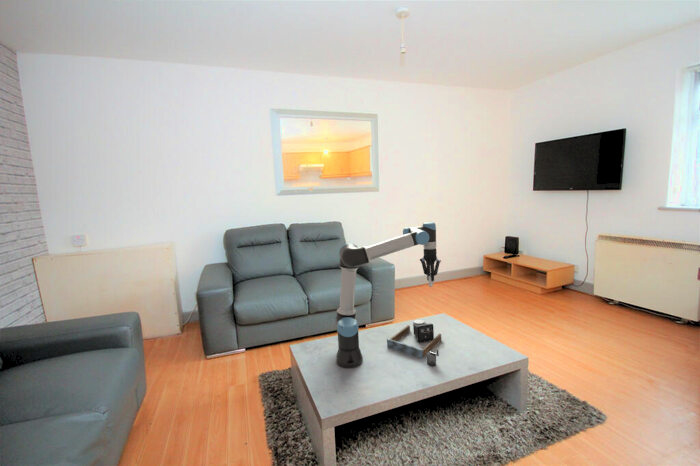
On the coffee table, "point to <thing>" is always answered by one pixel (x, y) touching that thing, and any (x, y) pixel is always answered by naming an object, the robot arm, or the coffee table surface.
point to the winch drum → (431, 358)
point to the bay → (410, 349)
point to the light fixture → (423, 331)
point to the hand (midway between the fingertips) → (430, 286)
